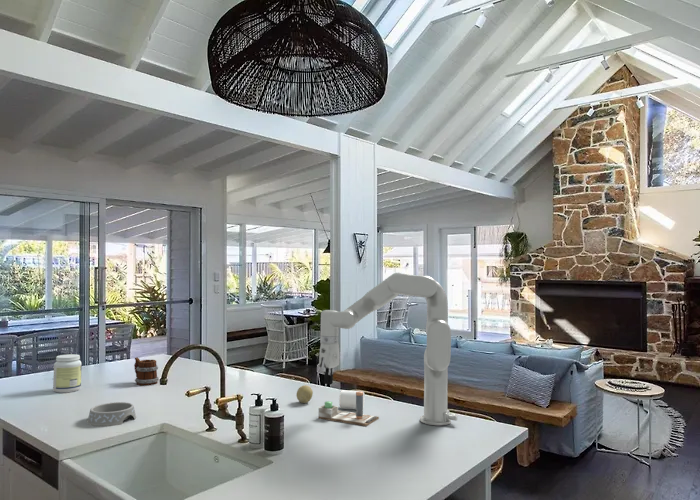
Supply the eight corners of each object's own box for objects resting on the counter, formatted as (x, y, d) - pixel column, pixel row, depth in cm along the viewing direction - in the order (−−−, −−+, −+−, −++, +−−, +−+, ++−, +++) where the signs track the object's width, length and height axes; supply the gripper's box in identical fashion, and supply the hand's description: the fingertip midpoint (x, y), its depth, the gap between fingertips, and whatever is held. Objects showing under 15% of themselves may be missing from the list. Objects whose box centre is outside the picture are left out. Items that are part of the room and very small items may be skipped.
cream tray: (378, 418, 219) (378, 408, 219) (366, 426, 208) (366, 415, 208) (332, 411, 229) (332, 401, 229) (318, 418, 218) (318, 407, 218)
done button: (333, 409, 220) (333, 402, 220) (329, 411, 217) (329, 403, 218) (326, 408, 222) (326, 401, 222) (323, 410, 219) (323, 402, 219)
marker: (364, 417, 217) (364, 392, 217) (360, 419, 214) (361, 393, 215) (357, 416, 218) (357, 391, 219) (354, 418, 216) (354, 392, 216)
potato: (313, 401, 246) (314, 383, 246) (310, 405, 238) (311, 387, 238) (297, 400, 247) (298, 383, 247) (294, 404, 239) (294, 387, 239)
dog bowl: (77, 424, 207) (77, 410, 207) (112, 412, 224) (113, 399, 224) (111, 429, 201) (111, 415, 201) (145, 416, 218) (145, 403, 219)
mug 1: (147, 386, 269) (144, 357, 270) (127, 388, 275) (125, 359, 277) (164, 382, 279) (161, 353, 281) (145, 383, 285) (143, 356, 287)
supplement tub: (86, 389, 262) (87, 355, 262) (61, 394, 252) (62, 358, 252) (72, 386, 268) (73, 353, 269) (47, 390, 258) (48, 356, 259)
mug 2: (361, 412, 229) (361, 393, 229) (339, 410, 231) (339, 392, 231) (366, 405, 240) (366, 387, 241) (344, 403, 242) (345, 386, 243)
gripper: (328, 342, 212) (327, 388, 212) (345, 338, 225) (344, 381, 225) (312, 341, 216) (311, 386, 215) (330, 337, 229) (329, 379, 228)
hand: (328, 383), depth 220 cm, fingers closed
